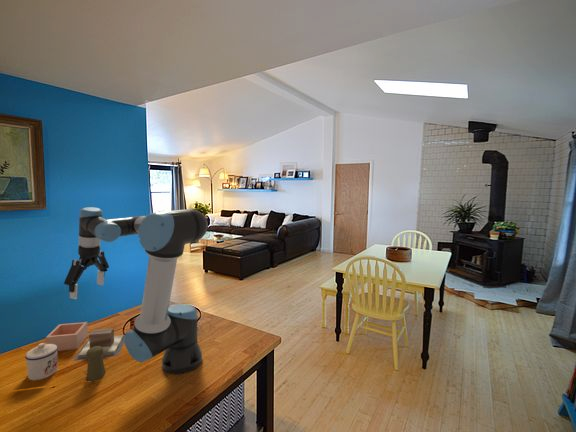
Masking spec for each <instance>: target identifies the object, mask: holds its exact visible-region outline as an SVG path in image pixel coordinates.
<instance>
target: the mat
mask: <svg viewBox="0 0 576 432" xmlns="http://www.w3.org/2000/svg"><path fill="white" fill-rule="evenodd" d="M124 337H125V335H124ZM88 342H89V338H88V339H87V341H86V342H85V344H84V345H83V346H82V348H81V349H80V350H79V351H78V353H77V354H76V355H75V357H74V358H73V359H72V361H73V362H74V361H75V362H76V361H83V360H88V358H87V357H83V358H78V355H79V354H80V352H81V351H82V350H83V348H84V347H85V346H86V344H87V343H88ZM124 345H125V341H124V338H123V340H122V341H121V343H120V345H119V347H118V349H117V351H116V352H115V354H110V355H102V358H110V357H117V356H119V355H120V354H119V353H121V350H122V348H123V347H124Z"/></svg>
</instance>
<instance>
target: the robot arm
mask: <svg viewBox="0 0 576 432" xmlns="http://www.w3.org/2000/svg"><path fill="white" fill-rule="evenodd" d="M78 221H79V222H78V248H77V249H78V250H77V253H78V256H79V258H78V259H72V261H71V265H70V268H69V270H68V272H67V275H66V277H65V280H64V282H63V285H66V286H68V293H69V299H73V300H77V299H78V287H79V286H78V281H79V280H80V277H82V275H83V273H84V271H85V270H87V269H88V268H89V267H91V266H95V267H96V268H97V269H98V270H97V273H96V275H97V277H96V285H99V286H104V284H105V283H104V282H105V279H104V278H105V275H106V272H107V271H108V269H109V268H110V265H109V263H108V261H107V258H106V256H105V251H102V250H101V244H102V243H101V241H103V242H107V243H112V242H115V241H116V240H117V239H119V238H121V237H125V236H126V237H127V236H133V235H138V238H139V244H140V245H141V248H143V249H144V252H145V254H147V255H148V263H147V269H146V276H145V281H144V290H143V295H142V303H141V309H140V314H139V315H138V316H137V317H136V318H135V319H134V322H133V323H134V324H133V328H132V329H129V330H128V331H127V332H125V334H124V336H125V337H124V341H125V343H124V345H125V348H126V350H127V352H128V354H129V355H130V357H131V358H132V359H133V360H134V361H136V362H138V363H144V362H146V361H149V360H151V359H153V358H154V357H156V356H158V355H160V354H161V353H162V352H164V353H163V356H162V359H161V360H162V361H161V367H162V370H163V371H164V372H166V373H168V374H172V375H181V374H186V373H189V372H192V371H193V370H195V369H196V368H198V367H199V366H200V365H201V363H202V361H203V353H202V349H201V347H200V345H199V342H198V317H199V316H198V311H197V308H196V306H195V307H194V306H193V305H190V304H185V303H184V304H182V303H181V304H179V303H177V304H173V305H170V302H171V297H172V290H173V286H174V278H175V273H176V268H177V263H178V262H177V261H178V259H179V258H180V257H182V255H183V254H184V250H185V245H187V244H192V243H196V242H197V241H200V240H201V239H203V237H204V236H205V235H206V233H208V228H209V225H208V224H209V223H208V220H207V218H206V216H205V214H203V212H201V211H199V210H197V209H192V208H185V209H178V210H177V209H176V210H174V209H173V210H161V211H156V212H151V213H148V214H147V215H137V216H129V217H119V218H117V217H116V218H109V219H107V218H104V217H103V211H102V209H100V208H99V207H93V206H91V207H90V206H89V207H82V208H80V210H79V216H78Z"/></svg>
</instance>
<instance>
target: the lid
mask: <svg viewBox="0 0 576 432" xmlns="http://www.w3.org/2000/svg"><path fill="white" fill-rule="evenodd" d="M114 329H115V328H114V327H111V328H109V327H108V328H98V329H92V330H91V331H90V332H89V333H88V337H89V338H88V339H89V342H88V343H87V344H86V346H85V347H84V348H83V350H82V351H81V352H80V354H79V355H78V358H83V357H87V356H86V354H87V351H88V350H89V349H90V348H92V347H94V346H101V347H102V348H103V354H102V355H110V354H115V352H116V351H117V349H118V347H119V345H120V343H121V341H122V340H123V338H124V336H125V334H120V335H115V330H114Z"/></svg>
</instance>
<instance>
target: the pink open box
mask: <svg viewBox="0 0 576 432" xmlns="http://www.w3.org/2000/svg"><path fill="white" fill-rule="evenodd" d="M88 328H89V327H88V321H84V322H72V323H62V324H61V323H60V324H58V325H57V326H56V327H54V328H53V330H52V331H51V332H50V333H48V335H47V336H45V344H54V345H56V346H57V347H58V349H57V352H61V351H62V352H63V351H73V350H78V349H79V348H80V347H81V345H82V344H83V343H84V342H85V340H86V339H87V337H89V330H88Z"/></svg>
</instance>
